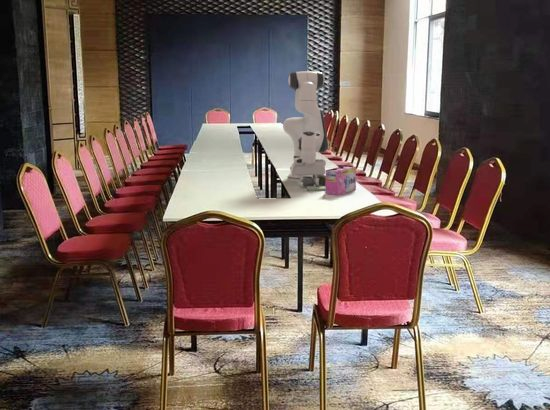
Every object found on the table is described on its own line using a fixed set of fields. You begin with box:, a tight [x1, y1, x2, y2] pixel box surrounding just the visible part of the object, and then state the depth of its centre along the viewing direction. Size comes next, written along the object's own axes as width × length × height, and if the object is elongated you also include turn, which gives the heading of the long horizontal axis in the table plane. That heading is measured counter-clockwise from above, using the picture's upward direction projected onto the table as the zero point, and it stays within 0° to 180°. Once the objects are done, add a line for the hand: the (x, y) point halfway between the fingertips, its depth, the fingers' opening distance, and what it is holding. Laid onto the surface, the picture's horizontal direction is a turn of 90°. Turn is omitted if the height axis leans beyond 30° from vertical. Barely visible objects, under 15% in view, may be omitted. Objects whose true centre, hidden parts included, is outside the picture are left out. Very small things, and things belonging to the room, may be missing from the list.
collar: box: [302, 176, 315, 187], centre depth 359 cm, size 6×6×5 cm
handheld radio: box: [313, 174, 326, 186], centre depth 366 cm, size 7×3×25 cm
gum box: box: [324, 165, 357, 196], centre depth 341 cm, size 24×8×14 cm, turn 145°
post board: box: [305, 178, 325, 192], centre depth 348 cm, size 8×16×6 cm, turn 95°
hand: (308, 182), depth 359 cm, fingers closed on collar, 6 cm apart
